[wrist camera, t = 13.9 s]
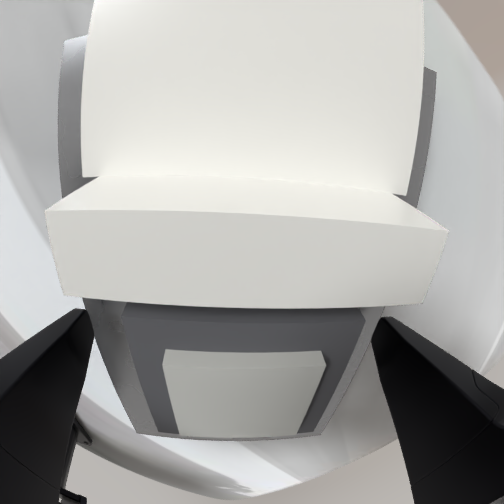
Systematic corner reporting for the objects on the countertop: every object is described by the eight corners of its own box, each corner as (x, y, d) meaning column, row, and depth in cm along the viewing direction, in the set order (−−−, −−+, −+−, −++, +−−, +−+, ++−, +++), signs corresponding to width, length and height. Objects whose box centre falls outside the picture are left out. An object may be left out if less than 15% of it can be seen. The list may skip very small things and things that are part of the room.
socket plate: (311, 401, 15) (320, 435, 13) (143, 398, 14) (136, 433, 12) (393, 76, 8) (436, 72, 5) (101, 53, 7) (64, 40, 4)
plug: (287, 325, 12) (315, 442, 7) (176, 322, 11) (156, 443, 6) (306, 222, 9) (374, 334, 5) (169, 216, 9) (114, 331, 4)
